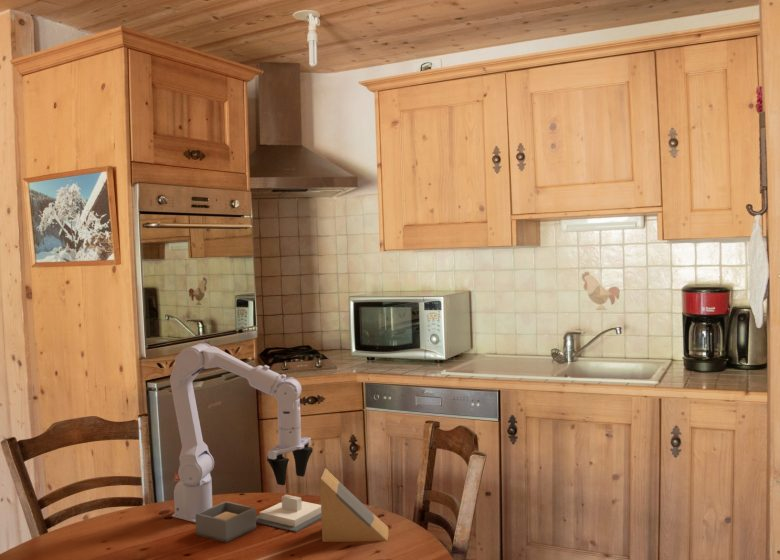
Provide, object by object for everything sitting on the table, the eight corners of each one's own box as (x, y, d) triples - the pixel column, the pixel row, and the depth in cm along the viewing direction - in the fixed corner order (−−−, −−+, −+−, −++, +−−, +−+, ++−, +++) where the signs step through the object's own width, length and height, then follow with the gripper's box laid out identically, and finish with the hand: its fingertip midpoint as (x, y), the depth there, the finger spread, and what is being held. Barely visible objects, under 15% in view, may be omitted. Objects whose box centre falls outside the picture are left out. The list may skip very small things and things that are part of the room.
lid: (259, 518, 177) (259, 500, 176) (289, 504, 186) (288, 487, 186) (294, 526, 170) (294, 508, 170) (323, 511, 180) (323, 493, 180)
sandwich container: (388, 541, 162) (386, 477, 161) (321, 542, 162) (320, 478, 161) (389, 527, 170) (387, 466, 170) (326, 528, 171) (324, 467, 170)
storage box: (196, 534, 168) (195, 514, 168) (226, 520, 177) (225, 501, 177) (226, 542, 163) (225, 521, 163) (256, 528, 171) (255, 507, 171)
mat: (249, 521, 176) (249, 519, 176) (288, 502, 189) (288, 501, 189) (296, 532, 168) (296, 530, 168) (333, 512, 181) (333, 510, 181)
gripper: (282, 435, 169) (284, 491, 170) (319, 422, 182) (321, 474, 182) (260, 432, 173) (262, 486, 173) (298, 419, 185) (299, 470, 186)
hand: (291, 480), depth 178 cm, fingers open, 7 cm apart
